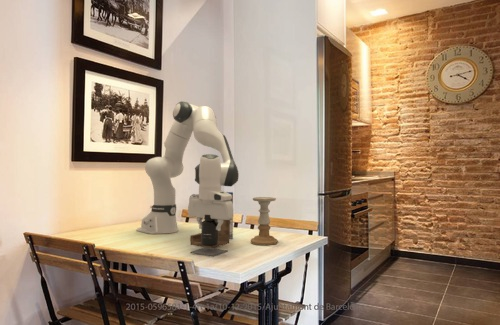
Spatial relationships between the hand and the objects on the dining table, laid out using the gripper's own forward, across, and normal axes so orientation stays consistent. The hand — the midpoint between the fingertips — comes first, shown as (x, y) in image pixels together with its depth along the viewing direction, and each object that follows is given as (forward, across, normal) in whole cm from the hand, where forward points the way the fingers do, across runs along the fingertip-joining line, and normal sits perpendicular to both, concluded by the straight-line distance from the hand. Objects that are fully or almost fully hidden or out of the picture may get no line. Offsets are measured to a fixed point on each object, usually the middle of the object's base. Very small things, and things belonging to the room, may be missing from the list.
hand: (209, 229), depth 144 cm
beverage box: (+9, -13, +26) cm, 30 cm away
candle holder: (+9, +10, +28) cm, 31 cm away
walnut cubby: (+9, -9, +13) cm, 18 cm away
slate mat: (+9, 0, 0) cm, 9 cm away
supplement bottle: (+6, 0, 0) cm, 6 cm away
